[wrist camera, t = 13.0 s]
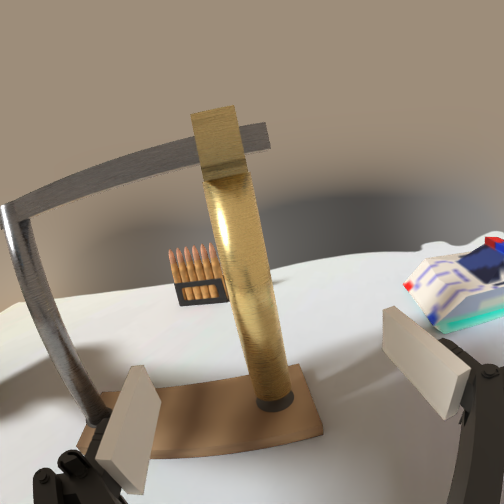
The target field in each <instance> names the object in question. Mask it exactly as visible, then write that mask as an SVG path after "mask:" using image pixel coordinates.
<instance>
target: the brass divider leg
mask: <svg viewBox="0 0 504 504" xmlns="http://www.w3.org/2000/svg"><path fill="white" fill-rule="evenodd" d="M191 120H192V125H193V130H194V135H195V140H196V145H197V150H198V155H199V160H200V165H201V170H202V174H203V179H204V182H203V188H204V192H205V197H206V202H207V206H208V210H209V215H210V220H211V223H212V228H213V233H214V237H215V241H216V245H217V250H218V254H219V258H220V262H221V267H222V270H223V275H224V279H225V283H226V287H227V291H228V295H229V299H230V303H231V307H232V311H233V315H234V319H235V323H236V327H237V331H238V334H239V338H240V342H241V346H242V349H243V353H244V357H245V361H246V364H247V368H248V372H249V375H250V379H251V383H252V386H253V390H254V393H255V396H256V397H257V398H259V399H260V400H263V401H276V400H279V399H281V398H283V397H285V396H286V395H287V394H288V393H289V392H290V390H291V382H290V376H289V370H288V365H287V359H286V354H285V348H284V343H283V338H282V332H281V327H280V321H279V316H278V311H277V305H276V300H275V295H274V290H273V284H272V279H271V274H270V269H269V264H268V258H267V253H266V248H265V243H264V238H263V233H262V228H261V223H260V218H259V213H258V208H257V203H256V198H255V193H254V188H253V184H252V178H251V173H250V172H248V169H247V164H246V159H245V155H244V150H243V145H242V140H241V135H240V131H239V126H238V121H237V117H236V112H235V107H234V105H232V106H227V107H221V108H217V109H212V110H208V111H203V112H198V113H194V114H191ZM247 172H248V173H247Z"/></svg>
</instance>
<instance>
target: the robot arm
mask: <svg viewBox="0 0 504 504" xmlns="http://www.w3.org/2000/svg"><path fill="white" fill-rule="evenodd" d="M382 350H383V352H384V353H385V354H386V355H387V356H388V357H389V358H390V359H391V360H392V362H393V363H394V364H395V365H396V366H397V367H398V368H399V369H400V371H401V372H402V373H403V374H404V375H405V376H406V377H407V378H408V380H409V381H410V382H411V383H412V384H413V385H414V386H415V388H416V389H417V390H418V391H419V392H420V393H421V394H422V396H423V397H424V398H425V399H426V400H427V401H428V403H429V404H430V405H431V406H432V407H433V408H434V410H435V411H436V412H437V413H438V414H439V415H440V417H441V418H442V419H443V420H444V421H445V420H447V419H449V418H450V417H452V416H454V415H455V414H457V412H458V409H459V406H460V405H461V406H462V407H463V408H464V411H463V414H462V417H461V419H460V422H459V424H461V422H462V426H461V434H460V442H459V448H458V455H457V460H456V466H455V471H454V475H453V480H452V484H451V489H450V493H449V496H448V500H447V504H500V498H501V491H502V483H503V474H504V366H503V367H500V368H499V367H498V366H496V365H493V364H484V365H481V364H480V363H479V362H478V361H476V360H475V359H474V358H473V357H471V356H470V355H469V354H468V353H466V352H465V351H463V349H461V348H460V347H458V346H457V345H456V344H455V343H454V342H452V341H450V340H448V339H445V338H441V339H439V340H437V339H435V338H434V337H433V336H432V335H430V334H429V333H428V332H427V331H425V330H424V329H423V328H422V327H420V326H419V325H418V324H417V323H415V322H414V321H413V320H412V319H410V318H409V317H408V316H407V315H405V314H404V313H403V312H401V311H400V310H399V309H398V308H396V307H395V306H392V307H389V308H386V309H383V343H382ZM160 407H161V400H160V398H159V396H158V394H157V392H156V390H155V388H154V386H153V384H152V382H151V380H150V377H149V375H148V373H147V371H146V369H145V367H144V365H139V366H131V368H130V370H129V373H128V375H127V377H126V380H125V382H124V385H123V387H122V389H121V392H120V394H119V397H118V399H117V402H116V404H115V407H114V409H113V412H112V414H111V417H110V418H103V419H102V421H101V422H100V423H99V424H98V425H97V427H96V429H95V432H94V435H93V437H92V441H91V442H90V444H89V447H88V449H87V452H86V454H85V457H84V456H83V455H82V453H81V452H80V451H78V450H68V451H66V452H64V453H63V454H61V456H60V457H59V459H58V462H57V464H58V467H59V468H60V469H61V470H62V471H63V472H64V473H62V474H55V473H54V472H53V471H52V470H51V469H50V468H42V469H39V470H38V471H37V472H36V473H35V475H34V477H33V499H34V504H128V503H127V502H126V500H125V499H124V498H123V497H122V496H121V495H120V492H121V488H122V489H123V490H124V491H125V492H126V493H127V494H134V495H143V494H144V488H145V482H146V476H147V471H148V465H149V460H150V455H151V450H152V444H153V440H154V435H155V430H156V425H157V420H158V416H159V411H160Z"/></svg>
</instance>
